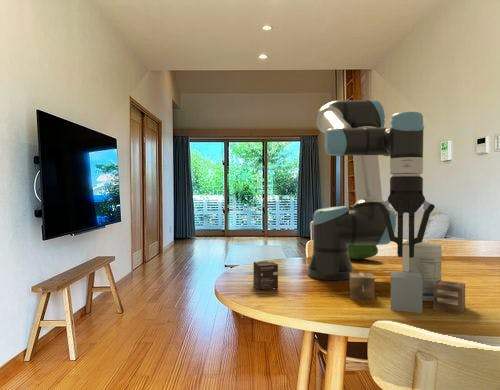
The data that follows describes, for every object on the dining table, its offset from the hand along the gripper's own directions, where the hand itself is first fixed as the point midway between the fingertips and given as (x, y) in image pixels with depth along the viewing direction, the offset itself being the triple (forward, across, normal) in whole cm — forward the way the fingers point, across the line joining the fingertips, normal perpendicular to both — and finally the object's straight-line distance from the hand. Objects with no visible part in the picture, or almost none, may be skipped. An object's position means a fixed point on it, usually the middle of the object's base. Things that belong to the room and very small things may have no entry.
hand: (405, 270), depth 91 cm
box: (+10, -39, +4) cm, 40 cm away
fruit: (+10, -16, +60) cm, 63 cm away
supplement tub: (+9, +4, +10) cm, 15 cm away
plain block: (+9, 0, 0) cm, 9 cm away
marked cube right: (+9, +10, +3) cm, 14 cm away
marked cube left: (+9, -11, +3) cm, 15 cm away
